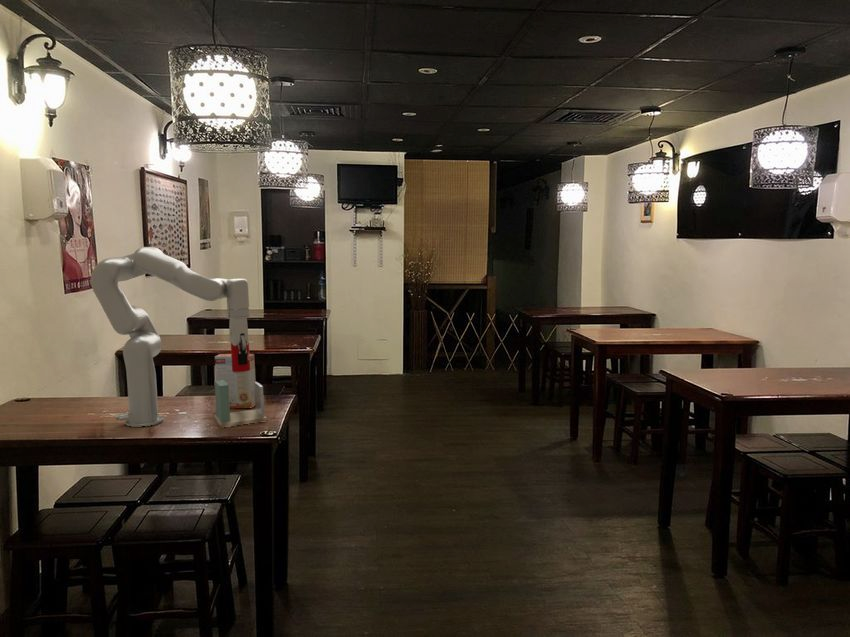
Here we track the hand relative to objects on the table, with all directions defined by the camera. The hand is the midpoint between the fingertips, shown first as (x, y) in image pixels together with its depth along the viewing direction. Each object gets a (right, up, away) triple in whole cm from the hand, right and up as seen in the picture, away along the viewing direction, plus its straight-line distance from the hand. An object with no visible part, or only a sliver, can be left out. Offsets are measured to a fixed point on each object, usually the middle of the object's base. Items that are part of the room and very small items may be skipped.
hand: (240, 362), depth 234 cm
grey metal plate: (+6, -19, +5) cm, 21 cm away
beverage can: (0, -4, +1) cm, 4 cm away
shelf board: (-1, -21, +2) cm, 21 cm away
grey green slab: (-6, -20, -1) cm, 21 cm away
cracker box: (-7, -19, +21) cm, 29 cm away
